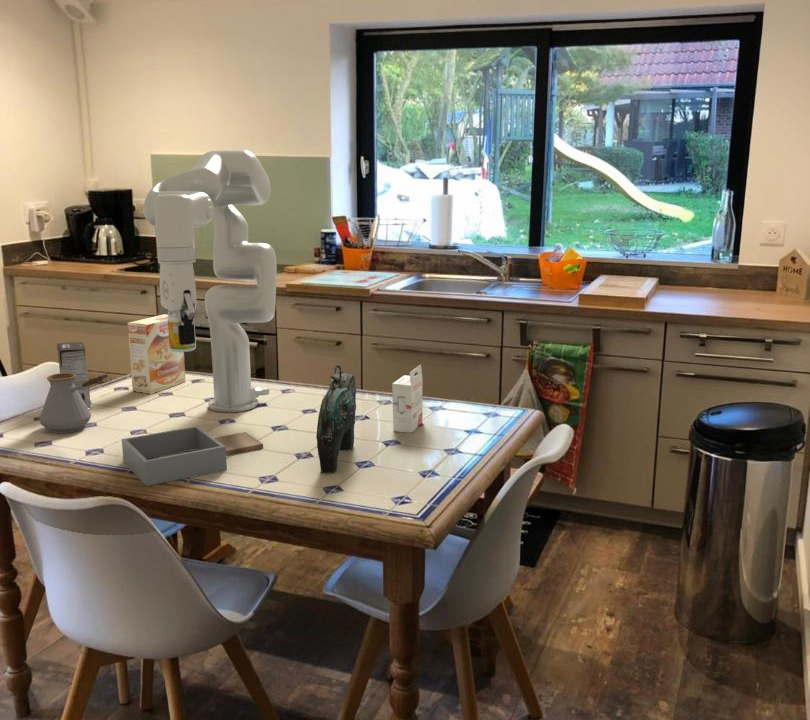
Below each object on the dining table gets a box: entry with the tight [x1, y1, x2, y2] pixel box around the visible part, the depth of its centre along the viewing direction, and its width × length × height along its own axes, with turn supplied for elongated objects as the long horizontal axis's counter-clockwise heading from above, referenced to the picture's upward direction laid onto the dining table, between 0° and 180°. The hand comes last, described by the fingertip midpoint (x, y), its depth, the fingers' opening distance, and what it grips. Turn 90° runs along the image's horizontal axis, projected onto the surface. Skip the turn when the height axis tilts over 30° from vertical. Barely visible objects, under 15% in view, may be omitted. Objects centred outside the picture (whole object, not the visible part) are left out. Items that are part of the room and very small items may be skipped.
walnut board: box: [214, 431, 264, 456], centre depth 189 cm, size 10×10×1 cm
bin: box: [121, 425, 228, 487], centre depth 176 cm, size 17×17×5 cm
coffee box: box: [56, 341, 92, 409], centre depth 219 cm, size 9×6×16 cm
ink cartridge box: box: [391, 364, 423, 434], centre depth 200 cm, size 9×5×15 cm, turn 161°
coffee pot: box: [39, 373, 112, 434], centre depth 198 cm, size 21×12×15 cm, turn 62°
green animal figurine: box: [315, 364, 357, 474], centre depth 179 cm, size 20×6×20 cm, turn 170°
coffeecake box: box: [127, 313, 186, 395], centre depth 237 cm, size 15×7×20 cm, turn 155°
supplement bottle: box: [168, 308, 197, 353], centre depth 177 cm, size 5×5×10 cm
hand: (182, 340), depth 178 cm, fingers closed on supplement bottle, 5 cm apart
